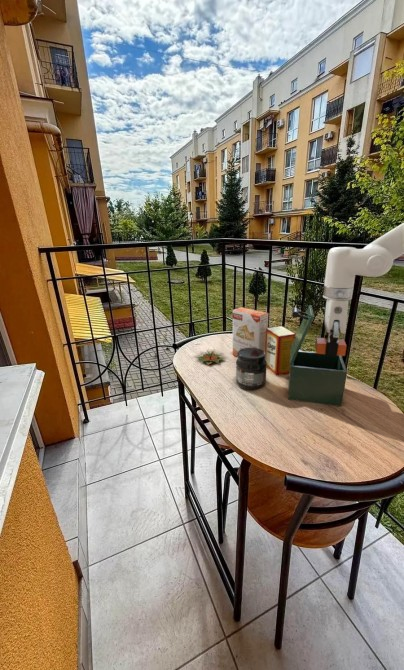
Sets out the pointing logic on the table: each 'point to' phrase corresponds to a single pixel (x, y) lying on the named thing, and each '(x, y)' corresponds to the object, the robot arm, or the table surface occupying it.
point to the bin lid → (300, 330)
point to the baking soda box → (278, 349)
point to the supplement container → (251, 368)
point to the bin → (317, 378)
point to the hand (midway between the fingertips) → (329, 350)
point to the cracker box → (249, 329)
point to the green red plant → (210, 358)
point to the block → (321, 346)
